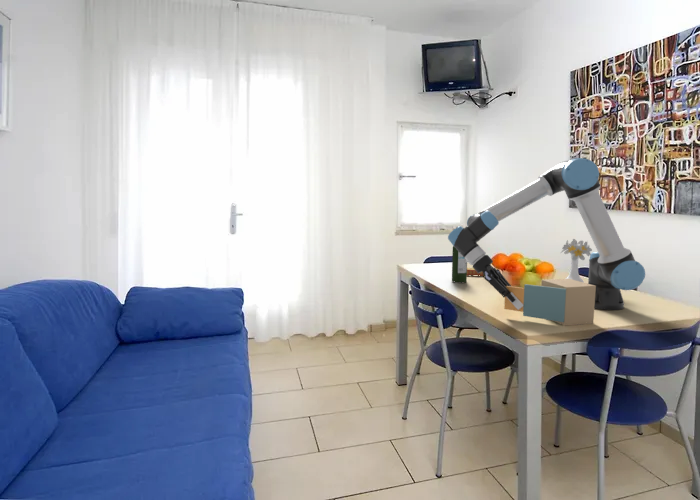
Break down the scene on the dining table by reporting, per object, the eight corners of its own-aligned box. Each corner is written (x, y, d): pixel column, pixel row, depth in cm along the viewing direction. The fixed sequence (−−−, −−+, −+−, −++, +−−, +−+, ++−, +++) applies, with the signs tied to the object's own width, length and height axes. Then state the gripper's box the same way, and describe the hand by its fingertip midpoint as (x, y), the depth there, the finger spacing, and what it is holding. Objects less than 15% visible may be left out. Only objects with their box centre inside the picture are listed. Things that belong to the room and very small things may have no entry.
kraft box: (566, 313, 169) (568, 278, 167) (593, 323, 155) (595, 285, 153) (539, 314, 166) (541, 279, 165) (564, 325, 153) (566, 287, 151)
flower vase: (566, 294, 201) (569, 241, 198) (554, 286, 219) (557, 238, 216) (596, 295, 199) (599, 242, 196) (581, 286, 217) (584, 238, 214)
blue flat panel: (504, 312, 165) (506, 282, 164) (564, 321, 152) (566, 288, 151) (504, 312, 164) (505, 282, 163) (563, 322, 152) (565, 289, 150)
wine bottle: (459, 279, 238) (460, 226, 234) (469, 282, 231) (471, 227, 227) (448, 281, 234) (449, 226, 230) (459, 283, 227) (460, 227, 223)
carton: (463, 274, 257) (464, 267, 256) (491, 275, 253) (491, 268, 253) (464, 276, 249) (464, 269, 248) (493, 277, 245) (493, 270, 245)
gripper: (478, 263, 175) (518, 308, 168) (466, 268, 164) (509, 317, 157) (491, 251, 172) (533, 297, 164) (480, 256, 160) (524, 305, 153)
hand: (521, 307), depth 160 cm, fingers closed
